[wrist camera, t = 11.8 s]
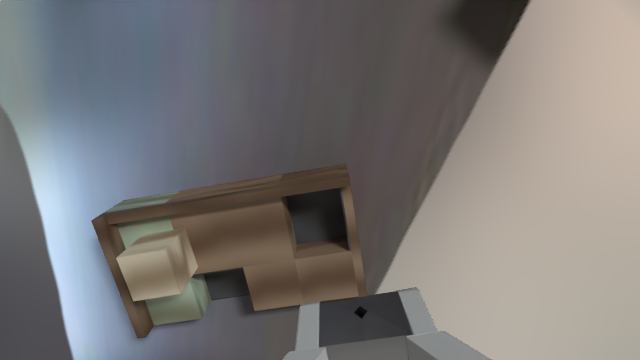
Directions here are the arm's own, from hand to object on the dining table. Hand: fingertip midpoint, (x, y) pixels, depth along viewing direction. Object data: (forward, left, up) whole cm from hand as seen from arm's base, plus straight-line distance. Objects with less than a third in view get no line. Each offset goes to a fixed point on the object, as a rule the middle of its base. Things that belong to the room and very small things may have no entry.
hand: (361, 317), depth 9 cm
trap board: (+11, -12, -31) cm, 35 cm away
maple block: (+10, -20, -27) cm, 35 cm away
